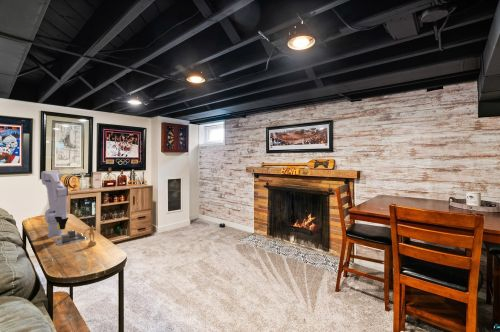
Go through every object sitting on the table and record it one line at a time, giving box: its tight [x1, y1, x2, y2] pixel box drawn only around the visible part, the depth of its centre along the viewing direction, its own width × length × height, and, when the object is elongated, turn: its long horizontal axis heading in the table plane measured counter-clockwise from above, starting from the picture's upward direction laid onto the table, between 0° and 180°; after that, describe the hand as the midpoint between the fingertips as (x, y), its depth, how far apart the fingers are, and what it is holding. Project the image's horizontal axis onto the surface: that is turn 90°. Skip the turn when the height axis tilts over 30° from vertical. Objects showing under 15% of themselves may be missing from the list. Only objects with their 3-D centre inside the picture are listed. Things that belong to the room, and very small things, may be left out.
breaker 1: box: [60, 233, 70, 242], centre depth 146 cm, size 3×4×4 cm
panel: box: [52, 231, 90, 247], centre depth 150 cm, size 18×15×3 cm
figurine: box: [83, 226, 101, 247], centre depth 141 cm, size 8×6×12 cm
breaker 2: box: [67, 229, 76, 237], centre depth 154 cm, size 3×4×4 cm
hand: (61, 228), depth 150 cm, fingers closed on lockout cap, 4 cm apart
